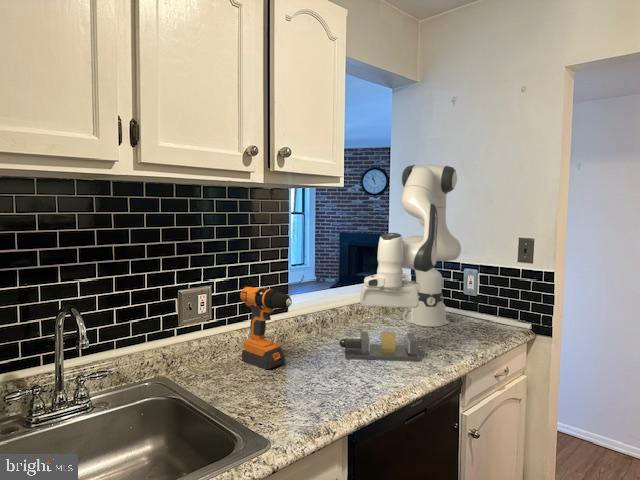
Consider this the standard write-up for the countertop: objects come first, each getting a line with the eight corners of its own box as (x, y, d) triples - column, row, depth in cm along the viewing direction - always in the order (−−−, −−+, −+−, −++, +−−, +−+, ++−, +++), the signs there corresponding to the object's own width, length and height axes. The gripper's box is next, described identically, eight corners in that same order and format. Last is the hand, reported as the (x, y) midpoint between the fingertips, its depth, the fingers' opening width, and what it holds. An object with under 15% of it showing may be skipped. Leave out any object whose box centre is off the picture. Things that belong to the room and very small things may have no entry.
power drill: (300, 370, 139) (301, 291, 137) (283, 376, 133) (284, 295, 131) (253, 354, 153) (254, 282, 151) (237, 359, 147) (237, 285, 145)
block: (380, 348, 157) (381, 331, 157) (393, 348, 157) (394, 331, 156) (382, 352, 153) (382, 335, 152) (395, 352, 153) (395, 335, 152)
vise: (344, 347, 162) (345, 330, 161) (413, 349, 160) (414, 332, 160) (344, 358, 150) (345, 340, 149) (419, 361, 148) (420, 342, 148)
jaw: (339, 344, 160) (339, 330, 160) (368, 345, 160) (368, 331, 159) (339, 352, 151) (339, 338, 151) (369, 353, 151) (370, 339, 150)
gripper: (418, 279, 156) (417, 317, 157) (360, 277, 157) (359, 315, 158) (421, 282, 149) (419, 322, 151) (360, 281, 151) (359, 320, 152)
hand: (388, 319), depth 155 cm, fingers open, 8 cm apart
